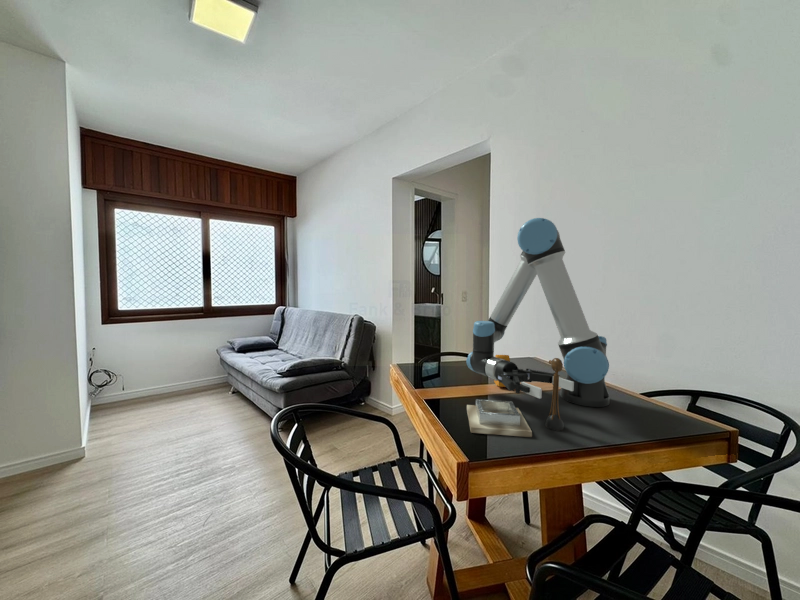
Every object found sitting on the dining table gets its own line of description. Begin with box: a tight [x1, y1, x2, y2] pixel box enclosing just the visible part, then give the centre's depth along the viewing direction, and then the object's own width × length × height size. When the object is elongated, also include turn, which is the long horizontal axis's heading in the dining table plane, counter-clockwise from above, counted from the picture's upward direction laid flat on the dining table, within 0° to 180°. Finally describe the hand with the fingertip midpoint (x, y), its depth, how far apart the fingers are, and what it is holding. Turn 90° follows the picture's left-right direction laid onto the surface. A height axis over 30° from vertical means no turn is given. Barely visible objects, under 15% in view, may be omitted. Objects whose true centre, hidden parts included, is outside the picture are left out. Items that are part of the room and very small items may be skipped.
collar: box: [475, 398, 520, 427], centre depth 95 cm, size 11×11×3 cm
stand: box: [466, 404, 533, 438], centre depth 95 cm, size 16×16×2 cm
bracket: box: [493, 354, 511, 388], centre depth 129 cm, size 11×7×12 cm, turn 176°
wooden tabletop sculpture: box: [544, 357, 564, 432], centre depth 93 cm, size 6×5×20 cm
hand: (557, 390), depth 91 cm, fingers open, 13 cm apart
